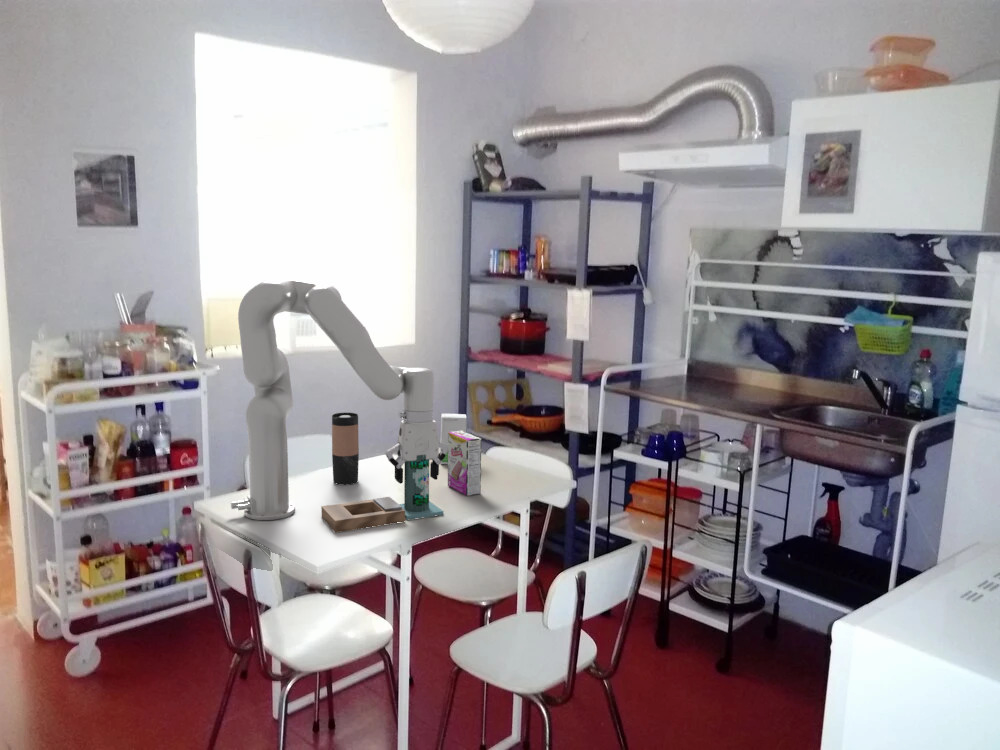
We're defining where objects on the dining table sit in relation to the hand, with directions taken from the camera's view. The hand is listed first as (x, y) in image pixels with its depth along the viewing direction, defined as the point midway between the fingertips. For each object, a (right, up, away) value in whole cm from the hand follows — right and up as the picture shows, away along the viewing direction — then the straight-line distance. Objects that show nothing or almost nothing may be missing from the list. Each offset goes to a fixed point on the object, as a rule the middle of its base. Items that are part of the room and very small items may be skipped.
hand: (416, 480), depth 205 cm
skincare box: (+6, -1, +51) cm, 51 cm away
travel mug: (-24, -4, +27) cm, 36 cm away
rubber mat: (0, -9, +1) cm, 9 cm away
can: (0, -8, +1) cm, 8 cm away
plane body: (-13, -9, -6) cm, 17 cm away
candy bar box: (+11, -6, +21) cm, 24 cm away
